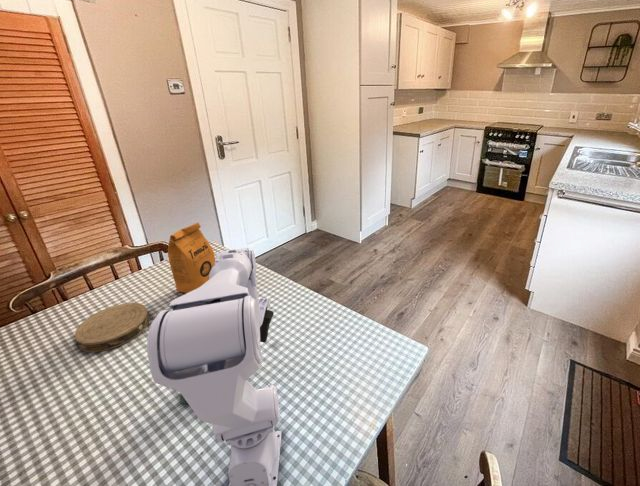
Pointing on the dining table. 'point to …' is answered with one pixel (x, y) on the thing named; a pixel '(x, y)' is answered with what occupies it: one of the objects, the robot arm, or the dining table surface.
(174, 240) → the coffee package
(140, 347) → the dining table surface
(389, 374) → the dining table surface
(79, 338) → the tan flat round disc
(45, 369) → the dining table surface
